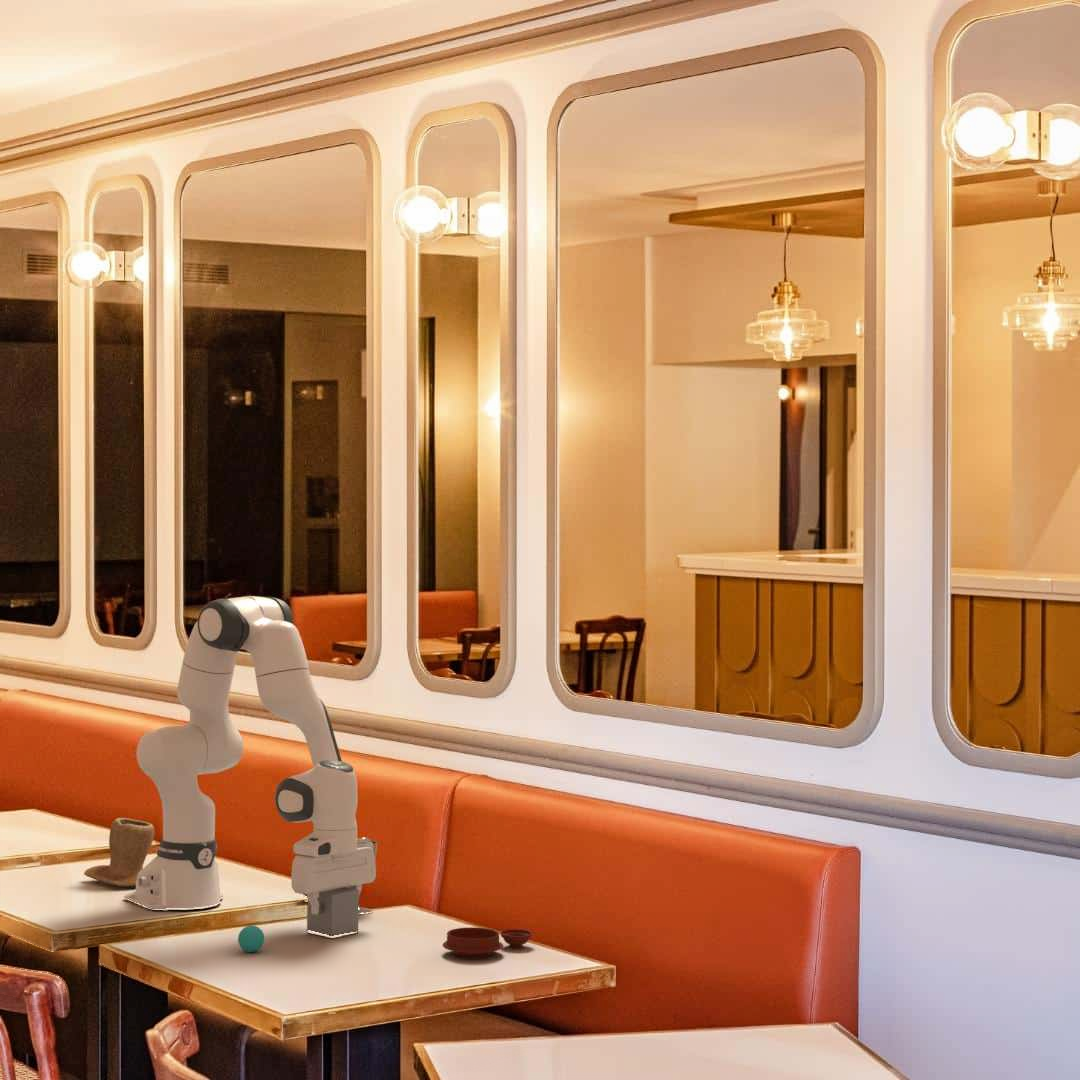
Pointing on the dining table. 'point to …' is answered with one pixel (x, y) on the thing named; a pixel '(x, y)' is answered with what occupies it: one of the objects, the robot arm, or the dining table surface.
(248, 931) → the ball
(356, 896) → the grey matte cube
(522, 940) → the pottery
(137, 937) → the dining table surface
